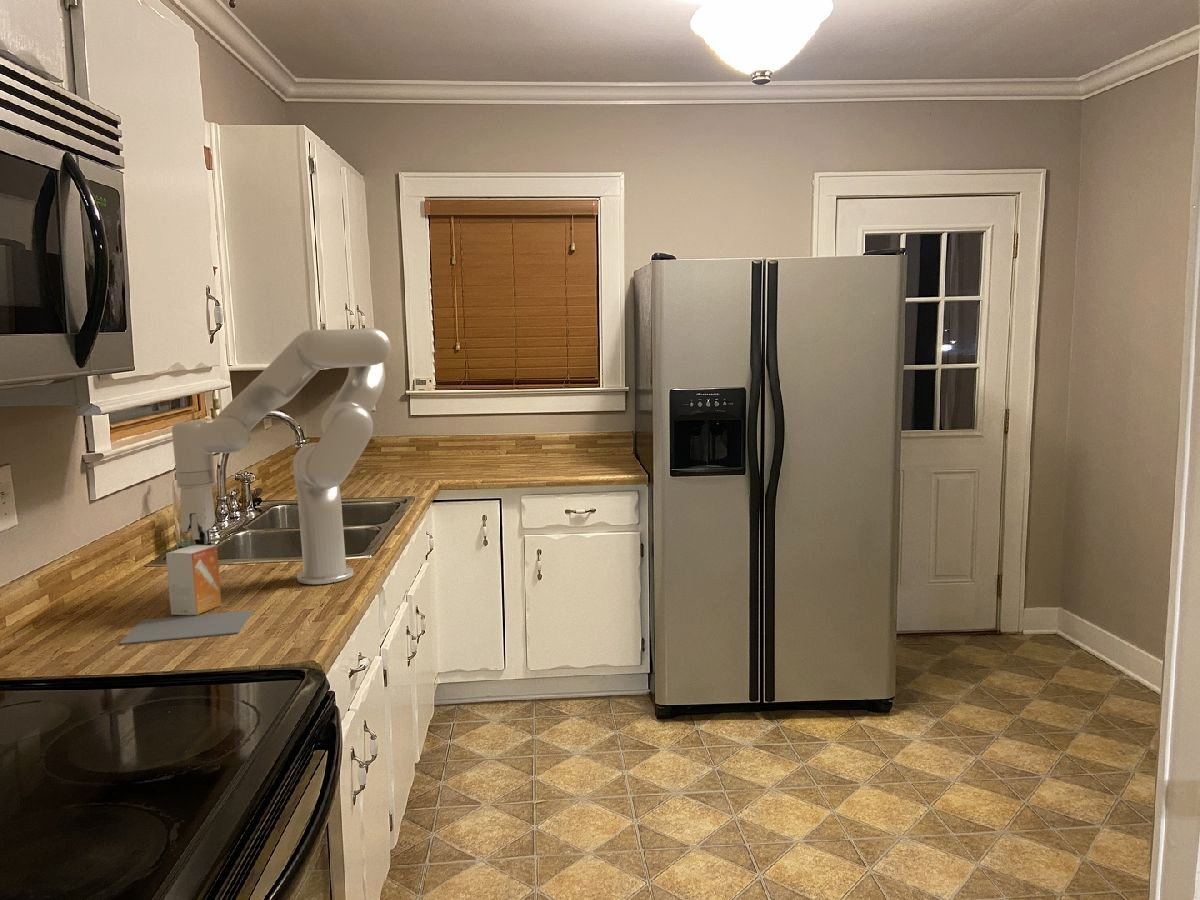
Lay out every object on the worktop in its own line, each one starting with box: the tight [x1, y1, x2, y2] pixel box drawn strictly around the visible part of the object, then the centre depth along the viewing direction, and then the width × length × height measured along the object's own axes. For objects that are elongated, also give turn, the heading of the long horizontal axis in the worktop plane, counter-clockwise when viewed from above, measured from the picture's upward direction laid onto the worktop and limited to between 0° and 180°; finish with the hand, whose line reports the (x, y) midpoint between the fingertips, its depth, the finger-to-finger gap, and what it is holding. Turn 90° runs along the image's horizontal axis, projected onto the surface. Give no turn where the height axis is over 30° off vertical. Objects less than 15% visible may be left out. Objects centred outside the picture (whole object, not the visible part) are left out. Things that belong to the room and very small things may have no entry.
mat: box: [118, 609, 253, 645], centre depth 173 cm, size 14×21×1 cm, turn 101°
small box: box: [165, 544, 222, 616], centre depth 183 cm, size 8×6×13 cm
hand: (204, 561), depth 192 cm, fingers closed
